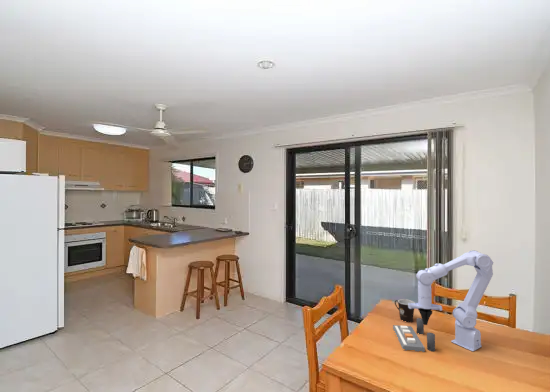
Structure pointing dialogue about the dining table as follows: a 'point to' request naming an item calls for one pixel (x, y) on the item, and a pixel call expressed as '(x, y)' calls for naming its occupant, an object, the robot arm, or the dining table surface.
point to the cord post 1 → (420, 326)
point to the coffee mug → (405, 310)
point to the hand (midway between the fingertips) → (425, 323)
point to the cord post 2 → (431, 342)
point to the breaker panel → (408, 338)
